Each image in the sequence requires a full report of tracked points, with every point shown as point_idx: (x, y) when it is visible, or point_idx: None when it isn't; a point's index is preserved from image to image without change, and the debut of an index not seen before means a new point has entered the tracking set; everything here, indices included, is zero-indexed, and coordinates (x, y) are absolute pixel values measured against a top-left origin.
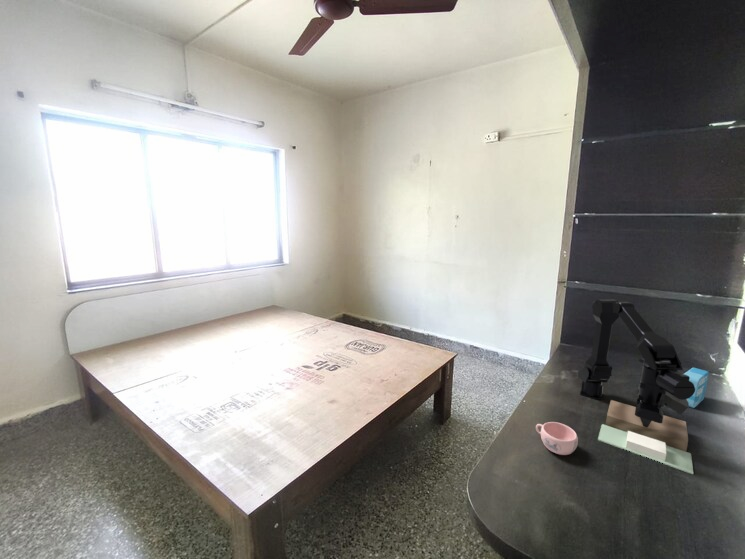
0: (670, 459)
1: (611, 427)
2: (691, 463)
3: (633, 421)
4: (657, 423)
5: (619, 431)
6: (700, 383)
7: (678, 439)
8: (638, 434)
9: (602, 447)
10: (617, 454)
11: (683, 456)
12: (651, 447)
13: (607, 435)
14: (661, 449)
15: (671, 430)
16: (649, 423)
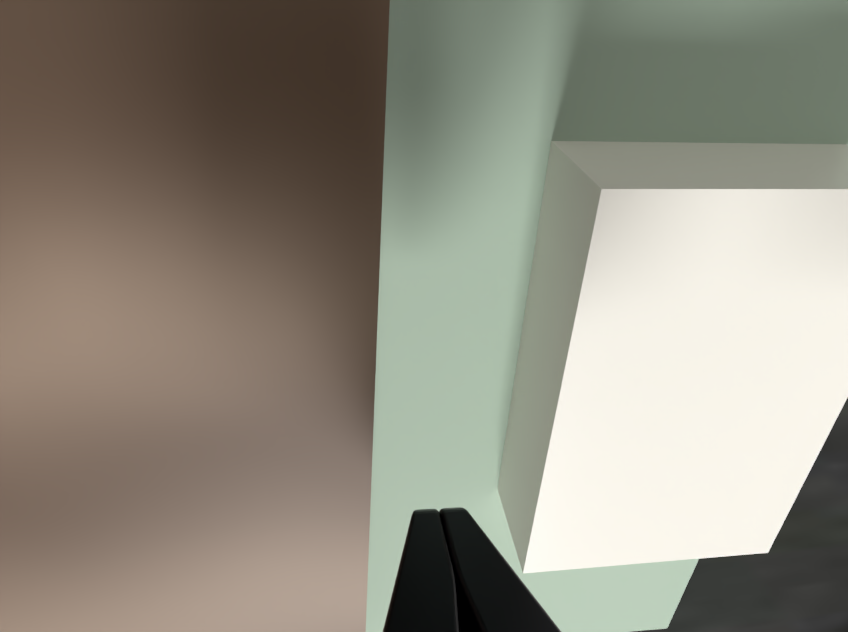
0: (777, 72)
1: (374, 599)
2: None
3: (298, 607)
4: (5, 349)
5: None
6: None
7: None
8: (555, 489)
9: (756, 580)
10: (822, 498)
11: None
12: (837, 356)
13: (562, 597)
14: (845, 246)
15: (92, 89)
16: (530, 600)
